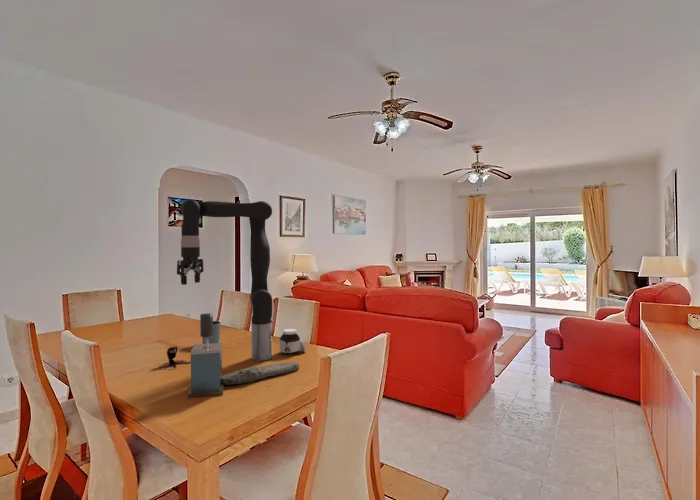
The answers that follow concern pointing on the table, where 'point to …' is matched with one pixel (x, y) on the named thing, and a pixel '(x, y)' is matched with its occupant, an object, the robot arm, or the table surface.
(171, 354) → the dark brown curved piece
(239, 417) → the table surface
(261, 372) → the long grey stone
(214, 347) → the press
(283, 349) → the spread jar
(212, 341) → the drinking glass
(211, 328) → the lever
